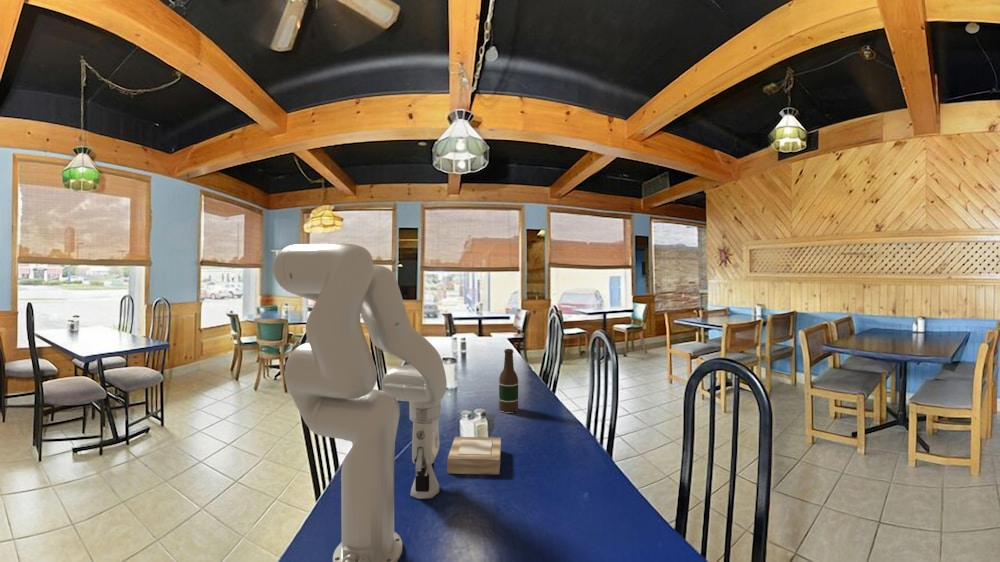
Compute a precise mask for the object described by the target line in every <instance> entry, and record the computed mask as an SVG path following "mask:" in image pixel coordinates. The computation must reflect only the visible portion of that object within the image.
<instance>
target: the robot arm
mask: <svg viewBox="0 0 1000 562" xmlns="http://www.w3.org/2000/svg"><path fill="white" fill-rule="evenodd" d="M272 273H273V276H274V279H275V281H276V282H277V284H278V285H279V286H280V287H281V288H282V289H283V290H285V291H286V292H288V293H290V294H293V295H296V296H298V297H301V298H304V299H307V300H310V301H313V302H315V303H314V305H313V307H312V308H311V311H310V313H309V315H308V316H307V319H306V322H305V323H306V324H305V335H306V339H307V342H305V343H302V344H300V345H298V346H297V347H295V349H293V350H292V351H291V353H289V356H288V358H287V360H286V363H285V367H284V381H285V385H286V388H287V390H288V393H289V395H290V396H291V398H292V400H293V403H294V405H295V407H296V409H297V410H298V412H299V415H301V418H302V419H303V422H304V423H305V425H306V426H307V427H308V429H309V430H310V431H311V432H312V433H314V434H316V435H318V436H320V437H325V438H333V439H339V440H344V441H347V442H348V441H349V442H351V444H352V445H351V446H352V447H351V448H350V450H349V451H348V453H347V455H345V457H344V459H343V461H342V464H341V470H340V473H341V475H340V482H341V485H340V486H341V488H340V491H341V492H340V493H341V494H340V496H341V498H340V499H341V503H340V504H341V505H340V507H341V513H340V514H341V516H340V518H341V520H340V521H341V542H340V543H339V544H337V545H338V546H337V547H336V548H335V549H334V552H333V554H332V562H398V561H399V560H400V558H401V555H402V554H403V540H402V537H401V536H400V534H398V533H397V532H396V531H395V447H396V444H395V443H396V438H397V431H398V427H399V421H400V414H401V413H400V412H401V410H400V404H399V402H398V401H402V402H409V420H410V421H411V422H412V423H413V424H412V437H411V438H412V442H411V444H412V446H411V448H412V449H411V456H412V457H411V460H412V463H413V464H415V477H416V491H417V492H428V491H429V474H428V464H429V463H430V464H431V465H432V468H433V471H434V472H435V463H434V462H435V460H436V457H437V455H438V452H439V451H440V450H439V449H440V429H439V428H440V426H439V425H440V424H439V420H440V418H441V416H442V415H441V412H442V411H441V409H442V406H441V400H443V398H444V397H445V395H446V392H447V387H448V386H447V385H448V384H447V381H448V380H447V375H446V369H445V367H444V363H443V361H442V360H443V359H442V357H441V355H440V353H439V351H438V349H436V348H435V347H434V345H432V344H431V342H430V341H429V340H427V338H425V336H424V335H423V334H421V333H420V332H419V331H418V330H416V329H415V328H414V327H413V326H412V325H411V321H410V317H409V315H408V312H407V309H406V305H405V302H404V299H403V296H402V293H401V290H400V285H399V283H398V280H397V278H396V275H395V274H394V272H393V271H392V270H391V269H389V268H388V267H386V266H384V265H383V266H382V265H377V264H374V260H373V256H372V254H371V252H369V250H368V249H367V248H365V247H363V246H362V245H358V244H354V243H353V244H352V243H343V242H336V243H334V242H333V243H331V242H328V243H327V242H326V243H297V244H296V243H295V244H290V245H288V246H285V247H284V248H283V249H281V250H280V251H279V252H278V253H277V255H276V256H275V258H274V260H273V264H272ZM361 318H362V320H363V324H364V326H365V328H366V330H367V334H368V336H369V338H370V342H371V343H372V345H374V346H375V347H376V348H378V349H380V350H381V351H382V352H385V353H386V354H389V355H391V356H393V357H395V358H397V359H399V360H402V361H403V362H406V363H407V364H405V365H397V366H395V367H392V368H390V369H389V370H388V371H387V372H386V373H385V374H384V376H383V377H382V381H381V390H380V389H374V388H375V386H376V384H377V380H378V374H377V366H376V364H375V361H374V358H373V355H372V352H371V349H370V346H369V344H368V340H367V338H366V336H365V333H364V330H363V326H362V322H361ZM423 459H425V460H426V461H423ZM422 465H425V468H423V467H422Z"/></svg>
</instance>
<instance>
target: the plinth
mask: <svg viewBox="0 0 1000 562" xmlns="http://www.w3.org/2000/svg"><path fill="white" fill-rule="evenodd" d="M501 453H502V438H501V437H494V436H493V437H487V436H486V437H483V436H482V437H481V436H477V437H476V436H454V437H453V442H452V444H451V448H450V449H449V453H448V455H447V461H446V462H447V467H446V468H447V469H446V470H447V473H446V474H457V475H458V474H465V475H469V474H470V475H500V473H501V472H500V468H501Z"/></svg>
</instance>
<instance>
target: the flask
mask: <svg viewBox="0 0 1000 562" xmlns="http://www.w3.org/2000/svg"><path fill="white" fill-rule="evenodd" d="M423 461H426V460H425V459H423ZM422 467H423V468H425V465H422ZM428 474H429V491H428V492H417V491H416V476H415V477H414V479H413V483H412V485H411V488H410V489H411V490H410V493H409V496H411V497H412V498H416V499H418V500H424V499H432V498H433V497H435V496H436V495H437V494H439V493H440V484H439V481H438V479H437V476H436V474H435V470H434V471H433V468H432V465H431V464H430V463H429V464H428Z"/></svg>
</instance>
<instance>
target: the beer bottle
mask: <svg viewBox="0 0 1000 562" xmlns="http://www.w3.org/2000/svg"><path fill="white" fill-rule="evenodd" d="M503 352H504V360H503V361H504V364H503V370H502V371H501V372H500V375H499V379H498V380H499V381H498V385H499V386H498V407H499V408H498V409H499V411H500V410H501V411H504V412H514V411H516V410H518V411H519V377H518V374H517V373H516V371H515V369H514V368H515V367H514V350H513V349H512V348H505V349H504V351H503Z"/></svg>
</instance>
